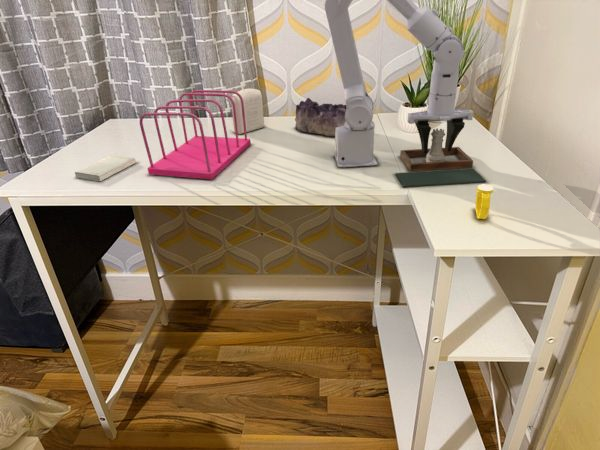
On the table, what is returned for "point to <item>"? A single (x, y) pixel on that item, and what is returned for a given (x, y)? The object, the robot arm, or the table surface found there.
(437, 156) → the rook chess piece
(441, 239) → the table surface
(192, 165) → the file sorter
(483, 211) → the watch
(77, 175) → the hard drive
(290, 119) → the table surface
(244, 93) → the white rounded block
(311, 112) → the geode
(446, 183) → the desk mat
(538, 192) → the table surface
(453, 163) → the desk tray
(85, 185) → the table surface
